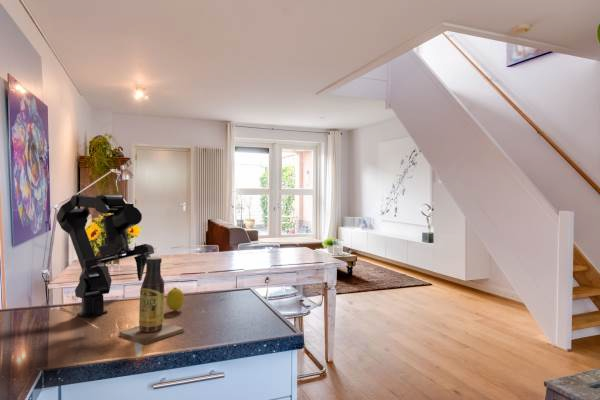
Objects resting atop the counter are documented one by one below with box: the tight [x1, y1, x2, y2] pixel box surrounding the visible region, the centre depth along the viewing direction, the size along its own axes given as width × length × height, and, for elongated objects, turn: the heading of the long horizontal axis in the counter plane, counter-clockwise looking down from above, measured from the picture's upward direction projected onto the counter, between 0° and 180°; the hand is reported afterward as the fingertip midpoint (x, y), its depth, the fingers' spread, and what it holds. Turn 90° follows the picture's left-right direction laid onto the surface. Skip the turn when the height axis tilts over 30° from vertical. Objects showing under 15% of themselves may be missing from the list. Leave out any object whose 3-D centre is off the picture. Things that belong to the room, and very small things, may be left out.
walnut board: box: [118, 321, 185, 346], centre depth 103 cm, size 12×12×1 cm
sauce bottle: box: [138, 256, 165, 332], centre depth 103 cm, size 6×6×20 cm
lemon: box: [166, 287, 185, 312], centre depth 125 cm, size 6×6×8 cm
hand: (124, 284), depth 111 cm, fingers open, 9 cm apart
